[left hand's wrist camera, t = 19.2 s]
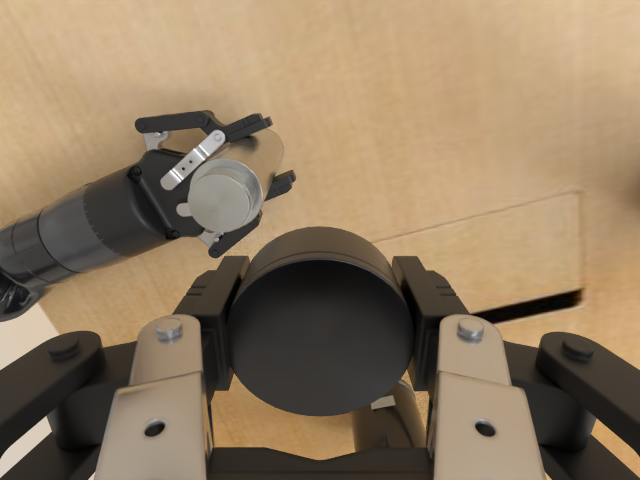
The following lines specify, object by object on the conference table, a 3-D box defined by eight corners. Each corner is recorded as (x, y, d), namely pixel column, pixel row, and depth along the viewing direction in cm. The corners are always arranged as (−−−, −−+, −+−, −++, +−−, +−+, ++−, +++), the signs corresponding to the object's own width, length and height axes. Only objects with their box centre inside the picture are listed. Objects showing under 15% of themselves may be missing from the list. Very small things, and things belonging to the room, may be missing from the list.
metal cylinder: (267, 178, 39) (229, 255, 21) (234, 152, 38) (163, 210, 20) (292, 146, 38) (274, 198, 20) (258, 119, 37) (206, 146, 19)
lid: (392, 215, 10) (410, 245, 8) (402, 353, 12) (419, 406, 10) (224, 237, 10) (201, 272, 8) (259, 369, 12) (246, 425, 10)
